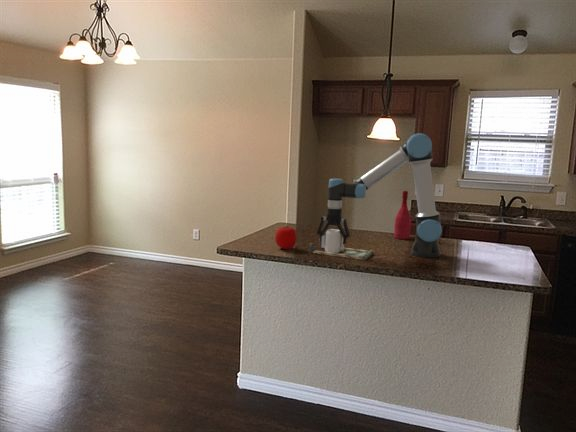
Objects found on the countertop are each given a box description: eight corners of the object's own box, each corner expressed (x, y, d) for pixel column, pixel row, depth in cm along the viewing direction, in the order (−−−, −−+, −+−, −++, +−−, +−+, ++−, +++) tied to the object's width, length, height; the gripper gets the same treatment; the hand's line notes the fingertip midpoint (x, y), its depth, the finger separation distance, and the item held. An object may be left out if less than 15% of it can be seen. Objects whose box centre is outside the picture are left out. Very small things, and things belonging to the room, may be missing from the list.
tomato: (300, 249, 256) (301, 226, 254) (286, 252, 248) (287, 228, 246) (284, 245, 265) (285, 223, 262) (269, 248, 256) (270, 225, 254)
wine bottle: (412, 238, 296) (415, 190, 291) (406, 240, 288) (410, 192, 283) (397, 236, 301) (400, 189, 296) (391, 238, 293) (394, 190, 288)
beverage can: (339, 254, 247) (340, 232, 245) (324, 253, 249) (325, 230, 247) (340, 250, 255) (341, 229, 253) (325, 249, 257) (326, 228, 255)
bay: (372, 253, 252) (373, 244, 251) (365, 260, 237) (365, 250, 236) (319, 246, 264) (320, 237, 263) (309, 252, 248) (309, 243, 247)
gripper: (357, 208, 247) (355, 249, 251) (316, 205, 256) (314, 244, 260) (353, 210, 240) (351, 252, 244) (311, 206, 249) (310, 247, 253)
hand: (332, 248), depth 252 cm, fingers open, 10 cm apart
